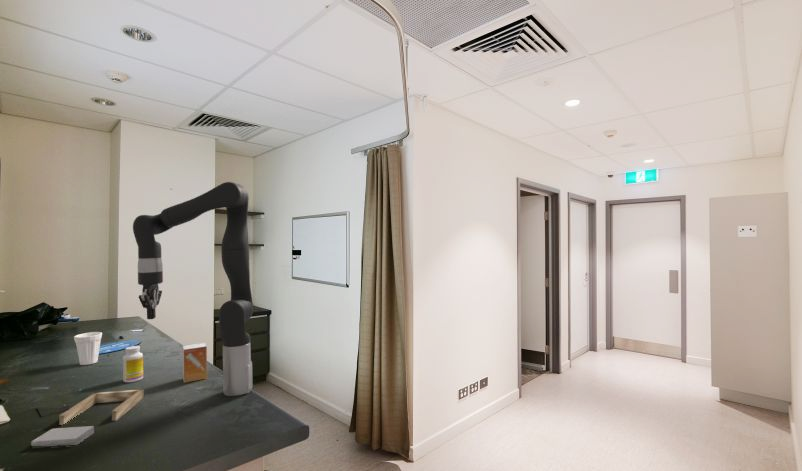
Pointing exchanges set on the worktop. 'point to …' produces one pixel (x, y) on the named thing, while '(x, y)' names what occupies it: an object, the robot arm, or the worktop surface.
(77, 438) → the cover plate
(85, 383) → the worktop surface
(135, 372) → the supplement bottle
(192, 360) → the small box
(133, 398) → the wooden bracket
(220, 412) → the worktop surface
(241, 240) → the robot arm
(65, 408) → the solid state drive
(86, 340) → the cup
